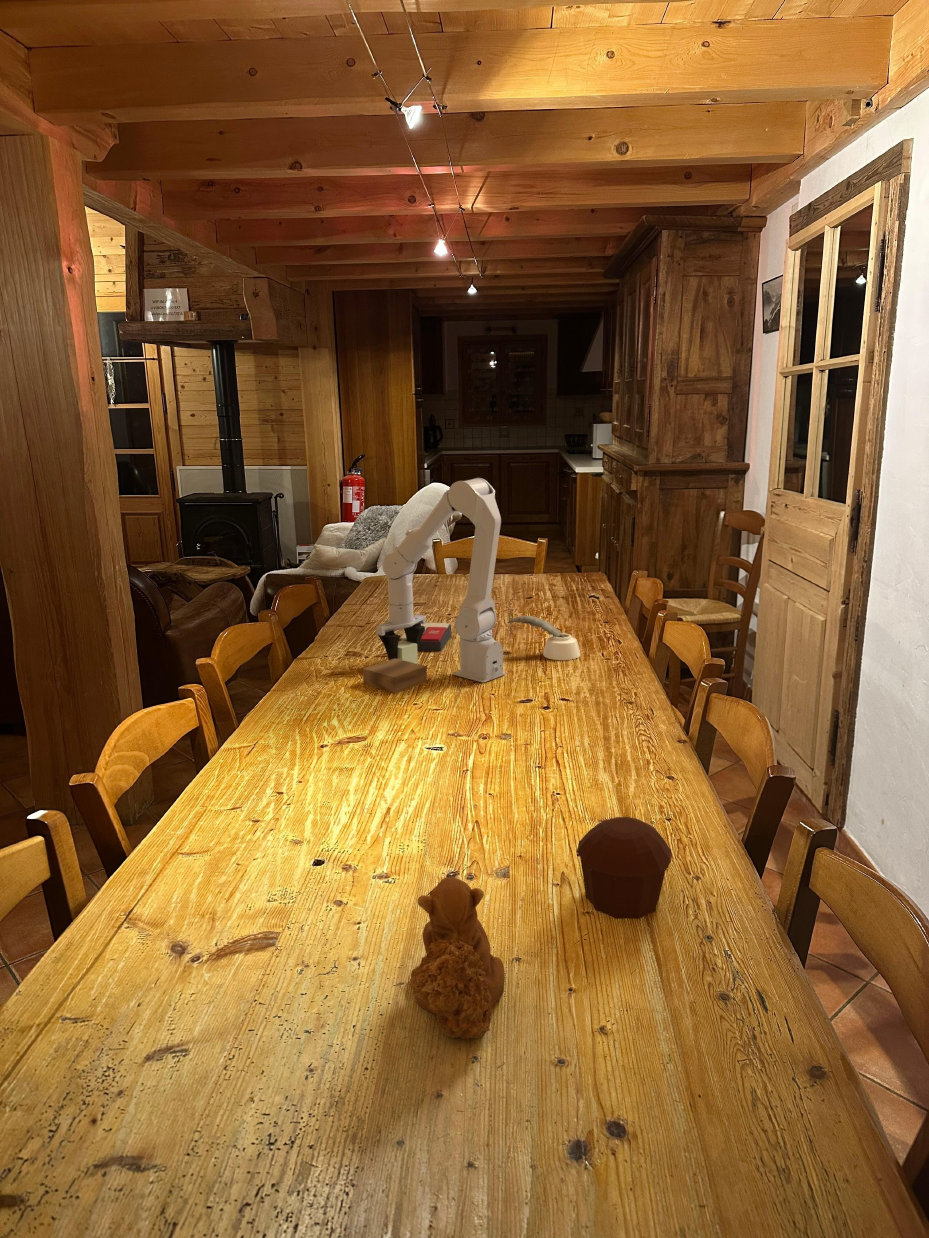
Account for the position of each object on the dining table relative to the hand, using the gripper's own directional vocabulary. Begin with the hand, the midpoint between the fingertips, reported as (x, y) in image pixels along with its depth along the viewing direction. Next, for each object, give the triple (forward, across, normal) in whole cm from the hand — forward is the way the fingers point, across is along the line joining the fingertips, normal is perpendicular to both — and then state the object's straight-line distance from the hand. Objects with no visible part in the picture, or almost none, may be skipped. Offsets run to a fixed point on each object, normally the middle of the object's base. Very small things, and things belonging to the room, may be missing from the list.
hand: (402, 658), depth 200 cm
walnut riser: (+2, +11, +9) cm, 14 cm away
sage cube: (+2, 0, 0) cm, 2 cm away
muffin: (+2, +51, +92) cm, 105 cm away
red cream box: (+2, -17, -9) cm, 19 cm away
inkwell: (+2, -27, +22) cm, 35 cm away
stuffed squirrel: (+2, +79, +90) cm, 119 cm away
